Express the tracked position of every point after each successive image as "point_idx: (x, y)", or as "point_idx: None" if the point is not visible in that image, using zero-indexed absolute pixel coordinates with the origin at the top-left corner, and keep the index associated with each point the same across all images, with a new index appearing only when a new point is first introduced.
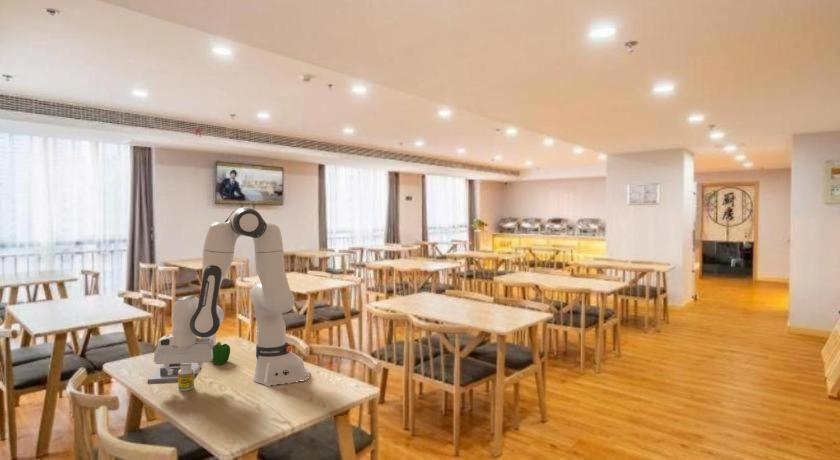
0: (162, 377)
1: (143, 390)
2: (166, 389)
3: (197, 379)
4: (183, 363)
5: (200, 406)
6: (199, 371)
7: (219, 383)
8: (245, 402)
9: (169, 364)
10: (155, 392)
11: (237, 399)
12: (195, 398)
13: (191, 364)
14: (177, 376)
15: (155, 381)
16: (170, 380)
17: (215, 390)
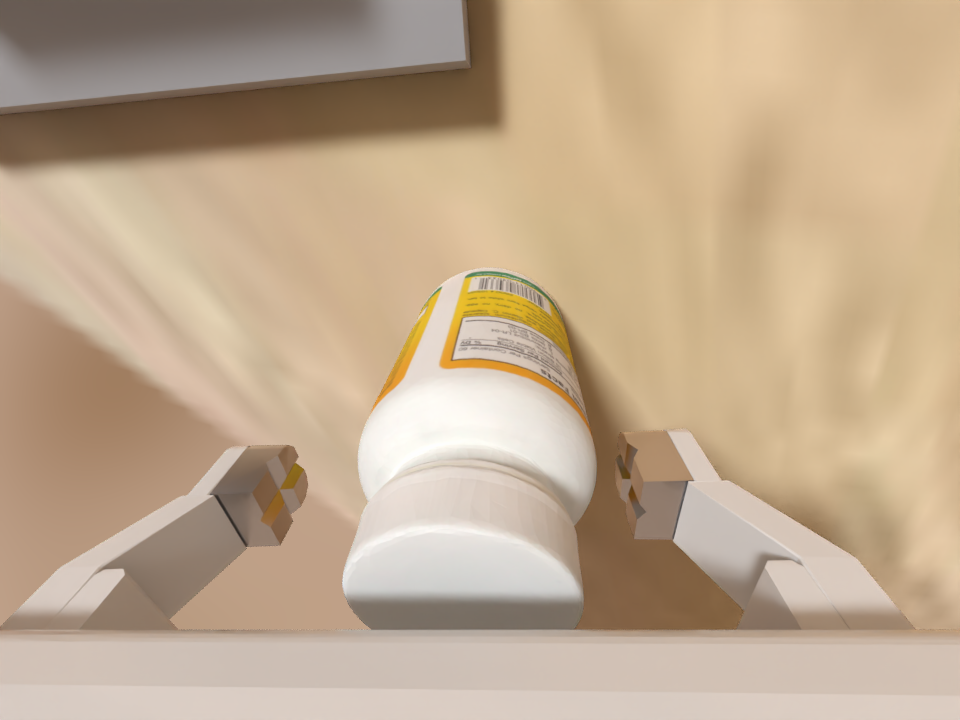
0: (14, 44)
1: (111, 335)
2: (309, 337)
3: (548, 12)
4: (390, 573)
5: (664, 602)
6: (692, 447)
7: (859, 231)
8: (955, 602)
9: (136, 612)
10: (254, 389)
11: (918, 566)
12: (619, 518)
13: (581, 576)
14: (220, 8)
15: (14, 112)
16: (188, 94)
17: (781, 413)
